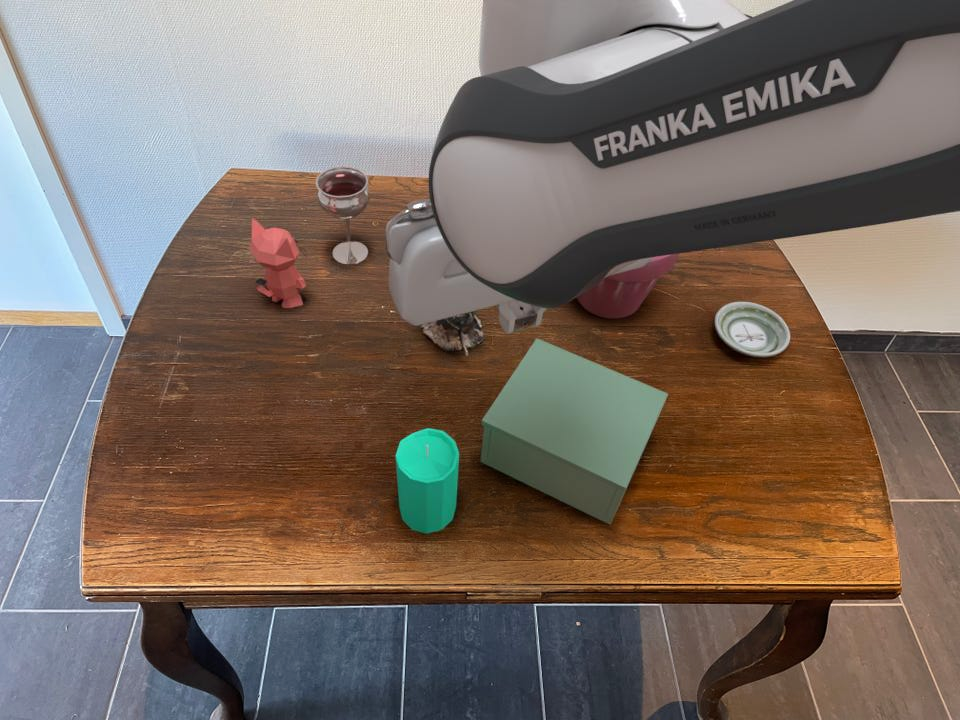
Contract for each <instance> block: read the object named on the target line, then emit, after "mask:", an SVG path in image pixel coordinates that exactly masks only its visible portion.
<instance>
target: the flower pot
mask: <svg viewBox="0 0 960 720" xmlns="http://www.w3.org/2000/svg"><path fill="white" fill-rule="evenodd" d="M679 255H680V253H678V254H671V255H664V256H657V257H653V258H652V259H651V260H650V261H649V262H648V263H647V264H646V265H645V266H643V267H641V268H637V269H633V270H629V271H625V272H622V273H618V274H614V275H610V276H608V277H606V278H604V279H602V281H601V282H600V283H599V284H598V285H596V286H595V287H593V288H591V289H590V290H588V291H586V292H585V293H583V294H581V295H580V296H578V297H576V299H577V301H578V303H579V304H580V305H581V306H582V307H583V308H584V309H585V310H586V311H587V312H589V313H591V314H593V315H595V316H597V317H600V318H604V319H621V318H622V319H623V318H626V317H628V316H631V315H632V314H635V312H637V310H638V309H639V308H640V307H641V305H642V304H643V302H644V300H645V299H646V298H647V297H648V295H649V294H650V292H651V291H652V290H653V288H654V287H655V285H656V283H657V282H658V280H659V279H660V278H662V277H663V276H665V275H667V274H668V272H670V271H671V270H672V268H673V267H675V264H676V262H677V260H678V257H679Z"/></svg>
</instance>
